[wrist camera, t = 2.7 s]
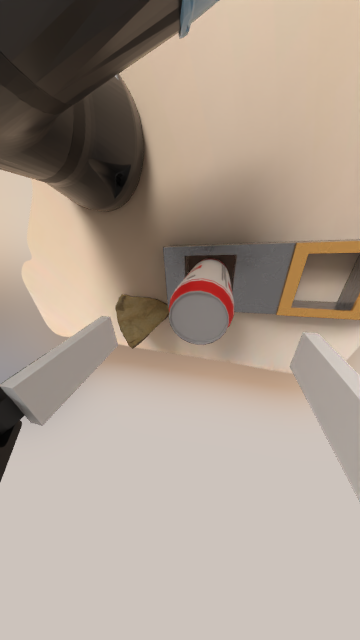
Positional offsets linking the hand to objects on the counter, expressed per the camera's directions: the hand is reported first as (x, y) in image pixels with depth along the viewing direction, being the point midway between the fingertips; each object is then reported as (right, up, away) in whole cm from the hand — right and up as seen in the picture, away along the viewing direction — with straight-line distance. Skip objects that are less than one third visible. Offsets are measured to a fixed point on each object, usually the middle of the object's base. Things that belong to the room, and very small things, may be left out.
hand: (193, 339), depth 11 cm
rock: (-8, +5, +22) cm, 24 cm away
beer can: (+4, +9, +16) cm, 19 cm away
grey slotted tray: (+12, +8, +14) cm, 20 cm away
